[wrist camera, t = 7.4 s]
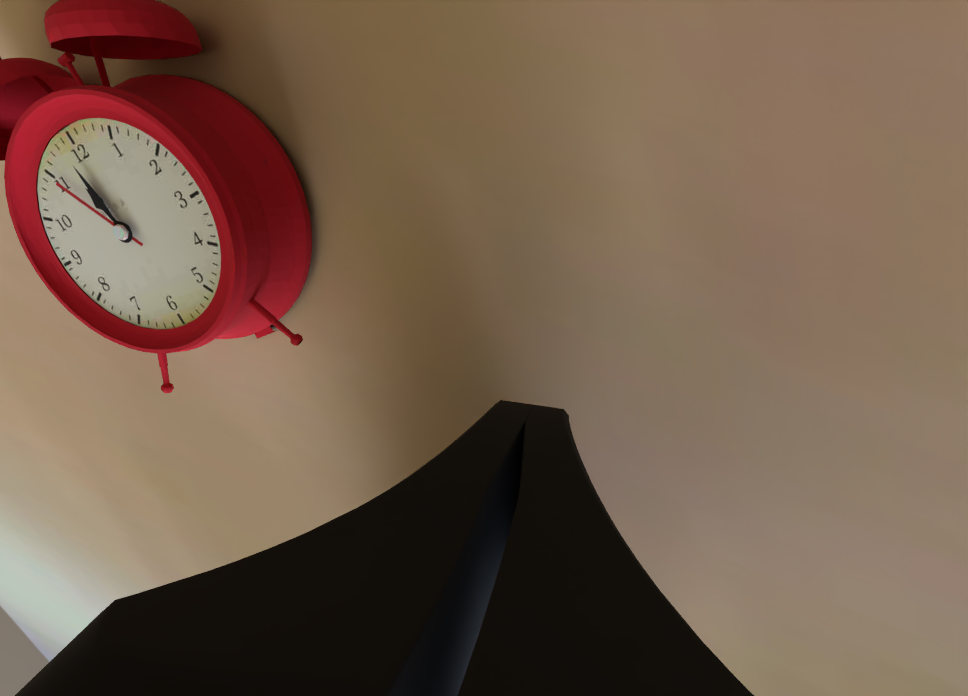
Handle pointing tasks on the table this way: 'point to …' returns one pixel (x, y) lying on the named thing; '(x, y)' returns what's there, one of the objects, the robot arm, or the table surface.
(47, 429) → the table surface
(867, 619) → the table surface
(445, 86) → the table surface
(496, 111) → the table surface
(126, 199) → the alarm clock
